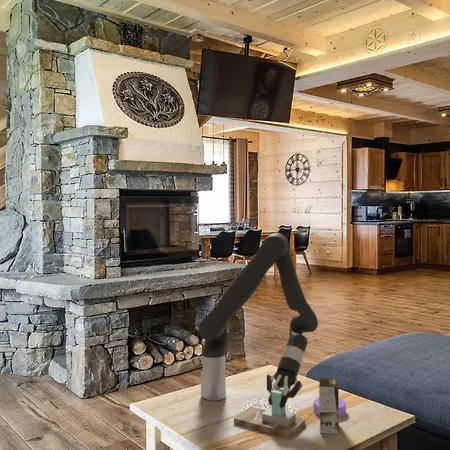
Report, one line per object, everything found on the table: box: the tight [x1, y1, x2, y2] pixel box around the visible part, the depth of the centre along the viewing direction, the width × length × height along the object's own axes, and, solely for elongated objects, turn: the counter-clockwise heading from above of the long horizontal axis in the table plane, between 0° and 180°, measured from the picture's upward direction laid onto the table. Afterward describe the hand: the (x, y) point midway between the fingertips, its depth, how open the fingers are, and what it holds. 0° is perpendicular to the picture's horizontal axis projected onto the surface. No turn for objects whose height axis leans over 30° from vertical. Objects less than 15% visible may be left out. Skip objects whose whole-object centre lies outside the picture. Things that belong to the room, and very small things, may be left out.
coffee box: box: [318, 377, 340, 435], centre depth 171 cm, size 9×6×16 cm
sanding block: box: [262, 388, 297, 427], centre depth 173 cm, size 10×6×10 cm, turn 56°
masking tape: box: [313, 397, 347, 419], centre depth 185 cm, size 12×12×4 cm
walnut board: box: [233, 406, 306, 440], centre depth 176 cm, size 22×12×2 cm, turn 57°
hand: (275, 405), depth 172 cm, fingers closed on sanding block, 3 cm apart
